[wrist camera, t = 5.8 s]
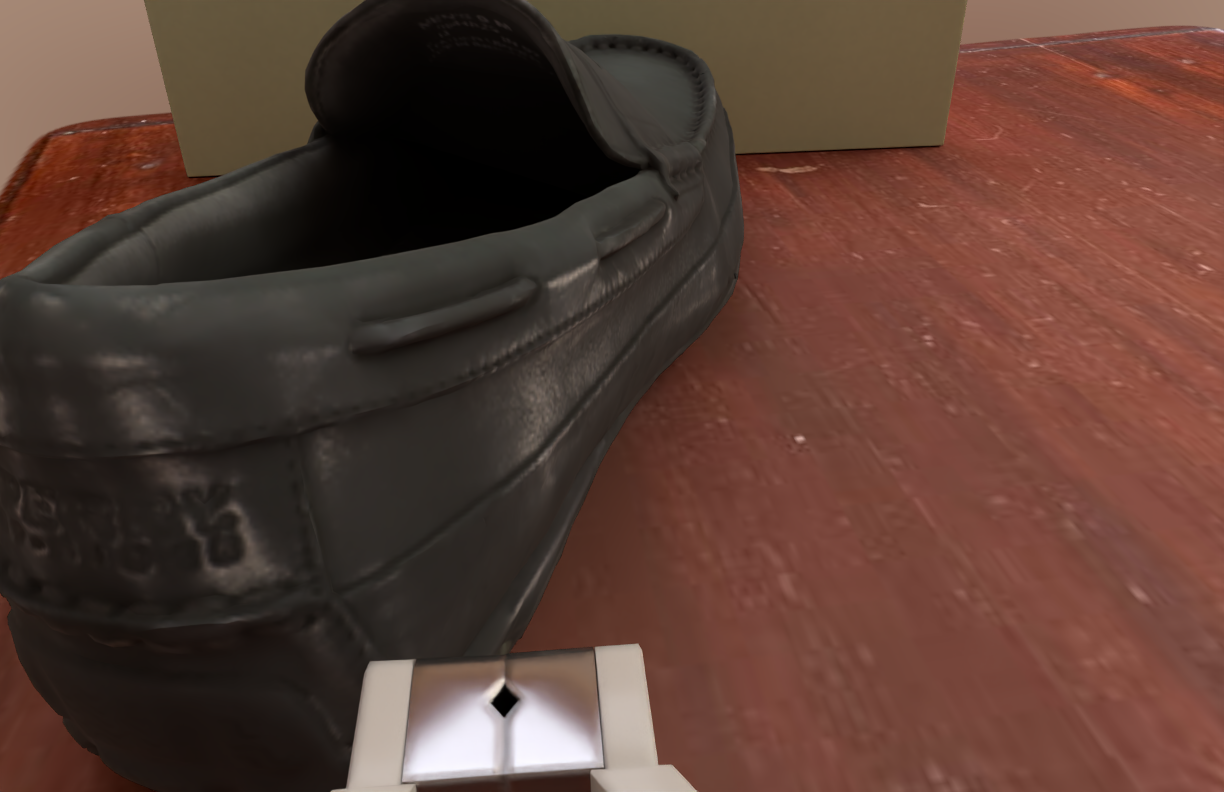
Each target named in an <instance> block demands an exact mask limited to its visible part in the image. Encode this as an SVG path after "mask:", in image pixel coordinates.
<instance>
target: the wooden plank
mask: <svg viewBox="0 0 1224 792" xmlns="http://www.w3.org/2000/svg"><path fill="white" fill-rule="evenodd" d="M363 1H365V0H144V2H145V6H146V10H147V15H148V19H149V23H150V26H151V31H152V35H153V39H154V43H155V47H156V51H157V55H158V59H159V63H160V67H161V71H162V75H163V79H164V83H165V88H166V92H167V96H168V100H169V104H170V107H171V112H172V116H173V120H174V124H175V128H176V132H177V136H178V140H179V144H180V148H181V152H182V156H183V160H184V164H185V169H186V173H187V176H188V177H197V176H221V175H225V174H227V173H230V172H232V171H234V170H237V169H239V168H242V167H244V166H247V165H249V164H252V163H255V162H257V161H260V160H263V159H266V158H268V157H270V156H272V155H275V154H278V153H281V152H285V151H288V150H291V149H295V148H298V147H301V146H304V145H306V144H307V142H308V140H309V137H310V134H311V132H312V129H313V127H314V125H315V124H316V122H317V121H318V120H317V118H316V117H315V115H314V113H313V112H312V110H311V109H310V106H309V103H308V100H307V97H306V93H305V90H304V89H305V69H306V67H307V65H308V63H309V60H310V58H311V56H312V54H313V52H314V50H315V48H316V46H317V45H318V43H319V42H320V40H321V39H322V37H323V36H324V35H325V34H326V32H327V31H328V30H329V29H330V28H331V27H332V26H333V25H334V24H335V23H336V22H337V21H338V20H339V19H340V18H341V17H342V16H344V15H345V14H347V13H348V12H350V11H351V10H353V9H354V8H355V7H357V6H358V5H359V4H361V3H362V2H363ZM526 1H528V2H529V3H530V4H531V5H533V6H534V7H535V8H537V9H538V10H539V11H540V12H541V14H542V15H543V16H544V17H545V18H546V19H547V20H548V21H549V22H550V23H551V24H552V26H553V27H554V28H555V30H556V31H557V32H558V34H559V35H560V36H561V38H562V39H564V40H566V41H570V40H576V39H579V38H581V37H584V36H588V35H603V34H621V35H635V36H644V37H649V38H654V39H658V40H663V41H666V42H669V43H672V44H675V45H678V46H681V47H683V48H686V49H688V50H692V51H693V52H694V53H695V54H696V55H698V56H699V58H701V59H703V60H704V61H705V63H706V64H707V65H708V67H709V69H710V71H711V73H712V76H713V78H714V81H715V82H714V85H715V89H716V91H717V93H718V95H719V97H720V99H721V102H722V106H723V107H724V108H725V110H726V111H727V114H728V118H729V122H730V125H731V128H732V132H733V138H734V143H735V154H746V153H770V152H794V151H818V150H842V149H866V148H890V147H914V146H938V145H943V144H944V138H945V132H946V126H947V120H948V114H949V108H950V102H951V96H952V90H953V84H954V78H955V72H956V65H957V59H958V53H959V47H960V41H961V34H962V29H963V23H964V17H965V10H966V5H967V0H526Z"/></svg>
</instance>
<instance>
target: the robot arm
mask: <svg viewBox="0 0 1224 792" xmlns="http://www.w3.org/2000/svg"><path fill="white" fill-rule="evenodd" d="M331 792H697V791H696V790H695V789H694V788H693V787H692V785H691V784H690V783H689V782H688V781H687V780H686V779H685V778H684V777H683V776H682V775H681V774H680V773H679V772H678V771H677V770H676V769H675V767H674V766H673V765H658V759H657V752H656V745H655V738H654V731H653V724H652V717H651V710H650V703H649V696H648V689H647V682H646V675H645V668H644V661H643V654H642V650H641V648H640V646H639V645H638V644H627V645H614V646H600V647H595V648H594V650H593V647H584V648H571V649H559V650H546V651H533V652H520V653H508V654H505V655H487V656H464V657H441V658H417V659H411V660H389V661H370V662H369V664H368V666H367V669H366V671H365V673H364V678H363V684H362V690H361V697H360V703H359V709H358V716H357V722H356V728H355V735H354V741H353V747H352V754H351V760H350V766H349V773H348V779H347V785H346V789H336V790H332V791H331Z"/></svg>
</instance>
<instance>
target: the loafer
mask: <svg viewBox="0 0 1224 792" xmlns="http://www.w3.org/2000/svg"><path fill="white" fill-rule="evenodd" d="M714 82H715V81H714V78H713V76H712V73H711V71H710V69H709V67H708V65H707V64H706V63H705V61H704V60H703V59H701V58H699V56H698V55H696V54H695V53H694V52H693V51H692V50H688V49H686V48H683V47H681V46H678V45H675V44H672V43H669V42H666V41H663V40H658V39H654V38H649V37H644V36H635V35H621V34H603V35H588V36H584V37H581V38H579V39H576V40H570V41H566V40H564V39H562V38H561V36H560V35H559V34H558V32H557V31H556V30H555V28H554V27H553V26H552V24H551V23H550V22H549V21H548V20H547V19H546V18H545V17H544V16H543V15H542V14H541V12H540V11H539V10H538V9H537V8H535V7H534V6H533V5H531V4H530V3H529V2H528V1H526V0H365V1H363V2H362V3H361V4H359V5H358V6H357V7H355V8H354V9H353V10H351V11H350V12H348V13H347V14H345V15H344V16H342V17H341V18H340V19H339V20H338V21H337V22H336V23H335V24H334V25H333V26H332V27H331V28H330V29H329V30H328V31H327V32H326V34H325V35H324V36H323V37H322V39H321V40H320V42H319V43H318V45H317V46H316V48H315V50H314V52H313V54H312V56H311V58H310V60H309V63H308V65H307V67H306V69H305V89H304V90H305V93H306V97H307V100H308V103H309V106H310V109H311V110H312V112H313V113H314V115H315V117H316V118H317V120H318V121H317V122H316V124H315V125H314V127H313V129H312V132H311V134H310V137H309V140H308V142H307V144H306V145H304V146H301V147H298V148H295V149H291V150H288V151H285V152H281V153H278V154H275V155H272V156H270V157H268V158H266V159H263V160H260V161H257V162H255V163H252V164H249V165H247V166H244V167H242V168H239V169H237V170H234V171H232V172H230V173H227V174H225V175H222V176H220V177H217V178H214V179H212V180H209V181H206V182H203V183H201V184H198V185H195V186H191V187H187V188H184V189H181V190H179V191H175V192H172V193H168V194H165V195H162V196H159V197H156V198H154V199H151V200H148V201H145V202H143V203H141V204H139V205H137V206H135V207H133V208H130V209H127V210H125V211H123V212H121V213H117V214H111V215H107V216H106V217H104V218H103V219H101V220H100V221H98V222H97V223H95V224H93V225H91V226H89V227H87V228H85V229H83V230H82V231H80V232H78V233H76V234H75V235H73V236H71V237H69V238H67V239H65V240H64V241H62V242H60V243H58V244H56V245H55V246H53V247H52V248H51V249H49V250H48V251H47V252H45V253H44V254H42V255H41V256H40V257H38V258H37V259H36V260H34V261H33V262H32V263H30V264H29V265H28V266H27V267H25V268H24V269H23V270H21V271H20V272H17V273H15V274H12V275H10V276H7V277H5V278H2V279H1V280H0V593H1V595H2V596H3V597H5V598H6V599H7V600H8V602H9V604H10V606H11V608H12V609H11V611H10V612H9V614H8V616H7V619H8V625H9V628H10V630H11V633H12V637H13V640H14V644H15V648H16V651H17V654H18V657H19V660H20V662H21V664H22V666H23V668H24V669H25V671H26V673H27V675H28V677H29V679H30V680H31V682H32V684H33V686H34V687H35V689H36V690H37V691H38V692H39V693H40V695H41V696H42V697H43V698H44V699H45V701H46V702H47V703H48V704H49V705H50V706H51V708H52V709H53V710H54V711H55V712H56V713H57V714H58V715H60V716H63V723H64V725H65V727H66V729H67V730H68V732H69V733H70V735H71V736H72V737H73V738H74V739H75V741H76V742H77V743H78V744H79V745H80V746H81V747H82V748H87V750H88V751H90V752H91V753H93V754H95V755H98V756H100V758H101V760H102V761H103V763H104V764H105V765H106V766H108V767H109V768H110V769H111V770H113V771H114V772H115V773H117V774H119V775H121V776H122V777H124V778H126V779H128V780H130V781H132V782H135V783H137V784H140V785H142V786H145V787H147V788H150V789H152V790H155V791H157V792H331V791H332V790H336V789H346V785H347V779H348V773H349V766H350V760H351V754H352V747H353V741H354V735H355V728H356V722H357V716H358V709H359V703H360V697H361V690H362V684H363V678H364V673H365V671H366V669H367V666H368V664H369V662H370V661H389V660H411V659H417V658H441V657H464V656H487V655H505V654H508V653H510V651H511V650H512V648H513V646H514V645H515V643H516V642H517V640H519V639H520V638H521V637H522V635H523V633H524V631H525V629H526V628H527V626H528V624H529V622H530V620H531V618H532V616H533V614H534V612H535V610H536V608H537V607H538V605H539V603H540V600H541V598H542V596H543V594H544V591H545V589H546V587H547V584H548V582H549V580H550V578H551V575H552V573H553V571H554V568H555V566H556V565H557V563H558V561H559V559H560V557H561V555H562V552H563V549H564V546H565V544H566V541H567V538H568V536H569V533H570V530H571V527H572V525H573V523H574V521H575V519H576V517H577V515H578V513H579V511H580V509H581V507H582V505H583V502H584V500H585V498H586V495H587V493H588V491H589V489H590V486H591V484H592V482H593V479H594V477H595V475H596V472H597V470H598V468H599V465H600V463H601V462H602V460H603V458H604V456H605V454H606V453H607V451H608V449H609V447H610V445H611V444H612V442H613V441H614V439H615V437H616V436H617V434H618V432H619V431H620V429H621V427H622V425H623V424H624V422H625V420H626V418H627V417H628V415H629V414H630V412H631V411H632V409H633V408H634V406H635V405H636V404H637V402H638V401H639V400H640V399H641V397H642V396H643V395H644V394H645V393H646V391H647V390H648V389H649V388H650V387H651V385H652V384H653V383H654V381H655V380H656V378H657V377H658V376H659V375H660V374H661V373H662V372H663V371H664V370H665V369H667V368H668V367H669V366H670V365H671V364H672V362H673V361H674V360H676V359H677V358H678V357H679V356H680V355H681V354H682V353H683V352H684V351H685V350H686V349H687V348H688V347H689V346H690V345H691V344H692V343H693V342H694V341H695V340H697V339H698V338H699V336H700V335H701V334H702V333H703V332H704V331H705V330H706V329H707V328H708V326H709V325H710V323H711V322H712V320H713V319H714V318H715V317H716V315H717V314H718V313H719V312H720V310H721V309H722V308H723V307H724V305H725V304H726V303H727V301H728V300H729V298H730V297H731V295H732V294H733V291H734V287H735V284H736V282H737V279H738V273H739V265H740V253H741V249H742V245H743V239H744V220H743V209H742V200H741V193H740V185H739V177H738V170H737V162H736V156H735V143H734V138H733V132H732V128H731V125H730V122H729V118H728V114H727V111H726V110H725V108H724V107H723V106H722V102H721V99H720V97H719V95H718V93H717V91H716V89H715V85H714Z"/></svg>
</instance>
